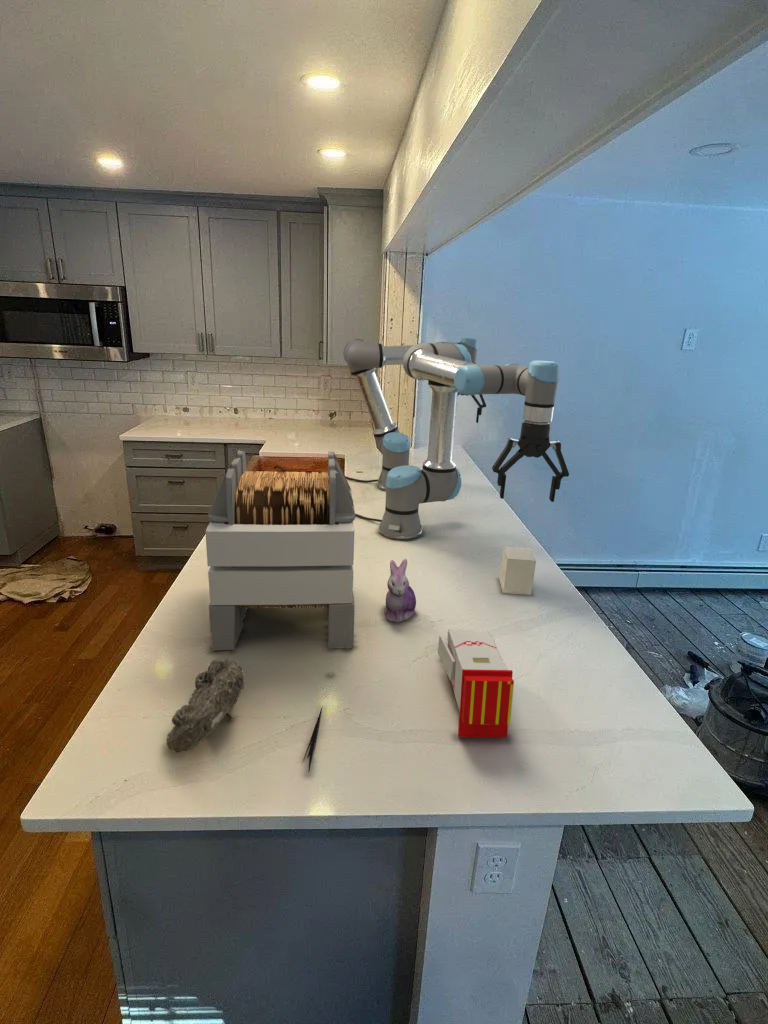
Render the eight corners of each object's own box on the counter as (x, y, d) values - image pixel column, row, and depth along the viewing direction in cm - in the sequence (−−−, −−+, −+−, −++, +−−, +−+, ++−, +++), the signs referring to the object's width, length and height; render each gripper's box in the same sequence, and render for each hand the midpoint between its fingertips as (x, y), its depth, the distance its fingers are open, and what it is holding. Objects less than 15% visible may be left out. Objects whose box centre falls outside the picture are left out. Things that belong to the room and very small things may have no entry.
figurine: (392, 627, 141) (395, 572, 136) (374, 608, 149) (376, 556, 144) (425, 619, 145) (429, 566, 140) (405, 601, 154) (408, 550, 149)
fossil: (192, 660, 117) (244, 628, 112) (224, 691, 120) (276, 661, 115) (142, 746, 98) (202, 712, 93) (182, 779, 101) (242, 748, 96)
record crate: (231, 583, 159) (223, 441, 145) (347, 582, 163) (350, 443, 149) (209, 653, 127) (196, 479, 114) (354, 649, 131) (359, 481, 117)
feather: (331, 679, 122) (336, 673, 122) (307, 777, 96) (313, 769, 95) (324, 675, 122) (329, 669, 121) (298, 772, 95) (304, 764, 95)
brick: (531, 595, 161) (536, 560, 157) (502, 593, 161) (507, 558, 157) (526, 581, 169) (530, 547, 165) (499, 579, 169) (503, 546, 166)
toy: (488, 613, 130) (523, 677, 101) (484, 667, 133) (517, 744, 104) (435, 612, 130) (455, 676, 101) (432, 666, 133) (451, 743, 103)
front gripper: (581, 421, 151) (569, 497, 159) (487, 416, 153) (479, 491, 160) (588, 427, 144) (575, 506, 152) (490, 421, 146) (482, 500, 153)
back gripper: (493, 374, 257) (488, 421, 264) (438, 371, 258) (435, 418, 265) (495, 376, 249) (490, 424, 257) (438, 373, 251) (435, 421, 258)
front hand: (526, 498), depth 156 cm, fingers open, 13 cm apart
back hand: (462, 421), depth 261 cm, fingers open, 13 cm apart
